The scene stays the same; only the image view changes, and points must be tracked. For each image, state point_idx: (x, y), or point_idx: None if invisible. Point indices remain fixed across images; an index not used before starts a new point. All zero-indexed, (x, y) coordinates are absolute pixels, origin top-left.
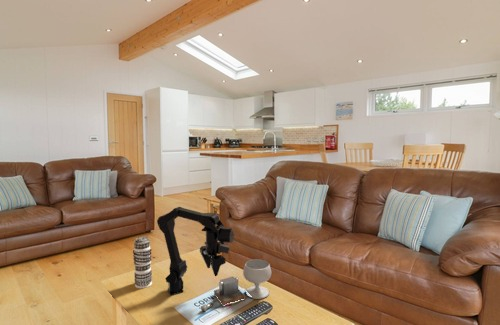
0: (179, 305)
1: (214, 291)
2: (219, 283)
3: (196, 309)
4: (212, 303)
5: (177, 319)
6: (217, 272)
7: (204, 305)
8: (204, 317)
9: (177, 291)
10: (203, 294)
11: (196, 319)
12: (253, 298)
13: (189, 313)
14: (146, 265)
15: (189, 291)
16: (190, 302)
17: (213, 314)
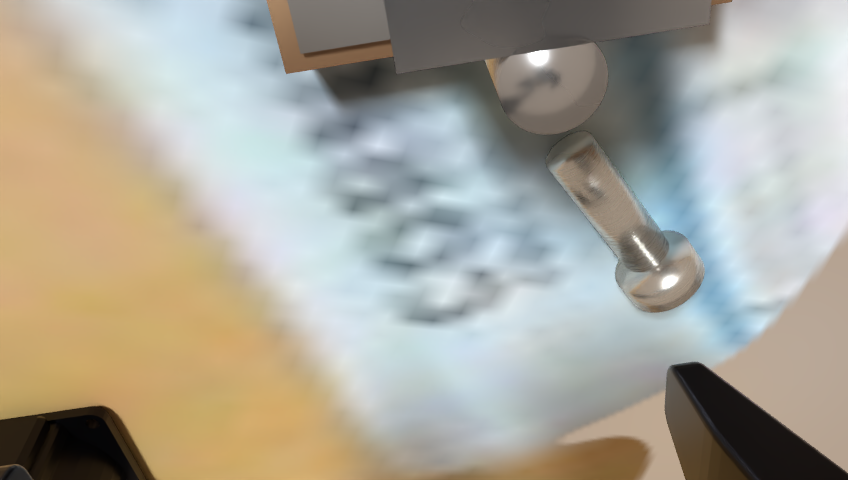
0: (398, 447)
1: (304, 66)
2: (564, 124)
3: (559, 315)
4: (596, 147)
5: (634, 468)
6: (810, 469)
7: (669, 288)
8: (765, 260)
9: (117, 473)
10: (221, 191)
11: (744, 335)
12: None
13: (597, 380)
14: None
15: (95, 342)
16: (379, 355)
17: (779, 155)
